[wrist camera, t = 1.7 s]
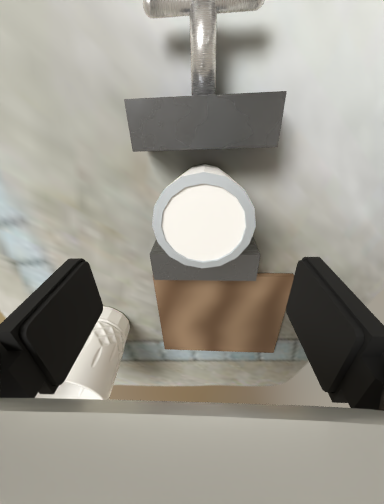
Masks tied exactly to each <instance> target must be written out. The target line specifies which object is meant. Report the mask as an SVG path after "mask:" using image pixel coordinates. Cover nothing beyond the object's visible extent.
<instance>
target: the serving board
mask: <svg viewBox="0 0 384 504" xmlns="http://www.w3.org/2000/svg"><path fill="white" fill-rule="evenodd" d="M293 279H294V275H293V274H290V273H257V278H256V281H206V280H154V277H153V280H154V286H155V292H156V298H157V304H158V310H159V316H160V322H161V328H162V334H163V340H164V346H165V349H176V350H205V351H235V352H264V353H273V352H274V349H275V345H276V342H277V338H278V335H279V331H280V327H281V324H282V320H283V317H284V313H285V310H286V305H287V301H288V298H289V294H290V290H291V286H292V283H293Z"/></svg>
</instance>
